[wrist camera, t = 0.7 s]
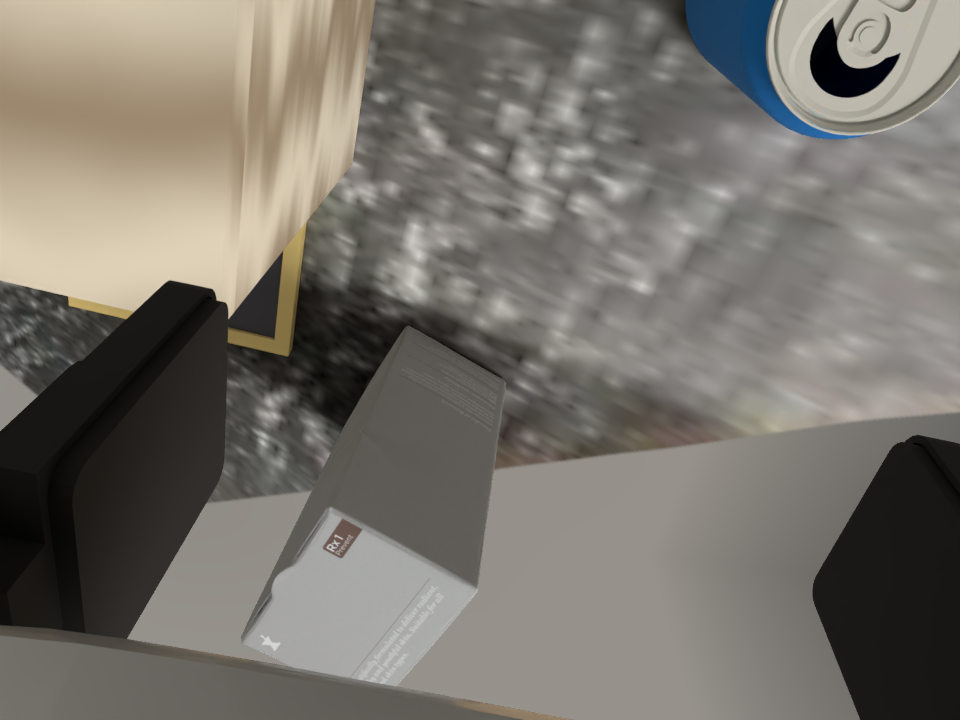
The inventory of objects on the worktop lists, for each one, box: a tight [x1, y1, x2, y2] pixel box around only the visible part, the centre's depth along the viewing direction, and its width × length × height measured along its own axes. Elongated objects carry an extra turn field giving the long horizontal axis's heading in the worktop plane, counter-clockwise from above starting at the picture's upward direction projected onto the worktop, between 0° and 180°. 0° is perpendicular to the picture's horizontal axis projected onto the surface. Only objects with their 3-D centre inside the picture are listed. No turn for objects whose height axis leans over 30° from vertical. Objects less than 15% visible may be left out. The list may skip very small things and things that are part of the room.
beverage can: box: [686, 0, 960, 139], centre depth 25 cm, size 6×6×12 cm
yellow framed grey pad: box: [68, 221, 307, 356], centre depth 38 cm, size 10×12×1 cm
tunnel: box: [0, 0, 375, 319], centre depth 25 cm, size 12×15×17 cm
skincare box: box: [241, 326, 506, 686], centre depth 35 cm, size 8×7×16 cm
